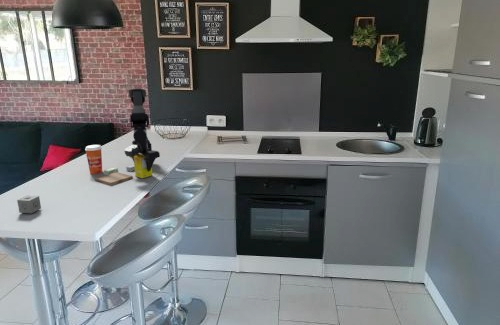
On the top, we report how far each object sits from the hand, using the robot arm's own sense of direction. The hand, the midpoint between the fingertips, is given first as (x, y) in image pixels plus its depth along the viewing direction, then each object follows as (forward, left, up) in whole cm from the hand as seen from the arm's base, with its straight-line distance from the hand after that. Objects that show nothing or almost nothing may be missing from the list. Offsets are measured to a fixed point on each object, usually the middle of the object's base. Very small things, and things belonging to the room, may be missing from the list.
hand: (143, 170), depth 174 cm
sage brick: (+6, -17, -4) cm, 18 cm away
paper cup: (+9, -25, -4) cm, 27 cm away
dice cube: (+51, -3, -4) cm, 52 cm away
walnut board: (+11, -8, -4) cm, 14 cm away
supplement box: (0, 0, -4) cm, 4 cm away
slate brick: (-4, -13, -4) cm, 14 cm away
